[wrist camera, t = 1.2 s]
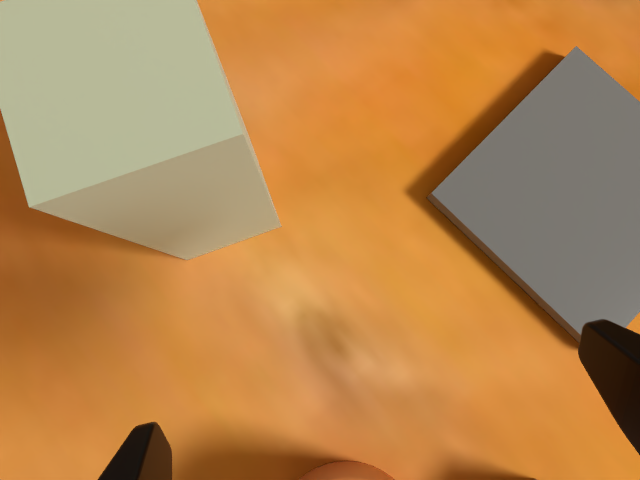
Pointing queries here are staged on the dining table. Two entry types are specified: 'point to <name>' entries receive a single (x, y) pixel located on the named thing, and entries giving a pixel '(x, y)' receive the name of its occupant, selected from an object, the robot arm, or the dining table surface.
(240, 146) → the sage block
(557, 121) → the slate trivet
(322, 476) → the peach cylinder
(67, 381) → the dining table surface
